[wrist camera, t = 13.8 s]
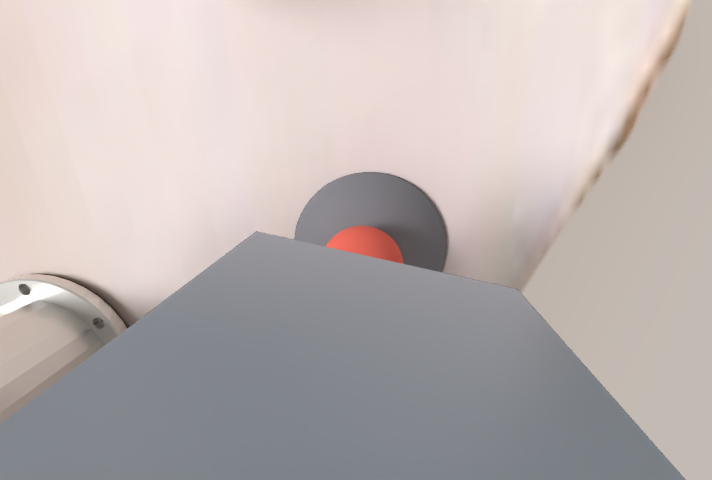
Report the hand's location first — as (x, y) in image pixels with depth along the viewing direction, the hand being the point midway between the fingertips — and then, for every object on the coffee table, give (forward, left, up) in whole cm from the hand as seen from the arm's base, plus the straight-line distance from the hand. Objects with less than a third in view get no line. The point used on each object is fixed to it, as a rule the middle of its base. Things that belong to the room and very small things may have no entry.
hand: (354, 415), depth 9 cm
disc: (0, 0, -14) cm, 14 cm away
